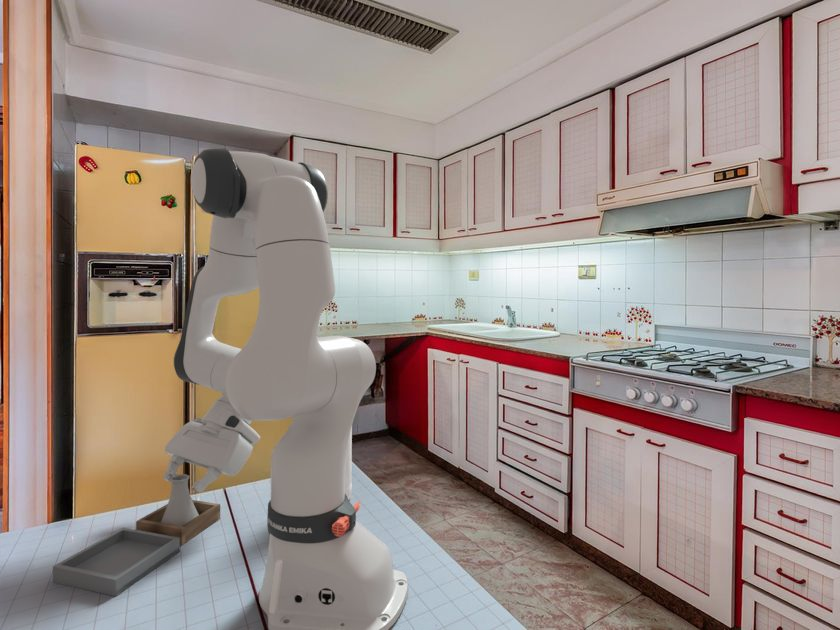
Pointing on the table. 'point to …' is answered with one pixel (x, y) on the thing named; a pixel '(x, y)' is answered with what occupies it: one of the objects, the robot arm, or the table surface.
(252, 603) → the table surface
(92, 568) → the tray
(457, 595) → the table surface
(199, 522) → the shaker holder
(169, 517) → the flask
